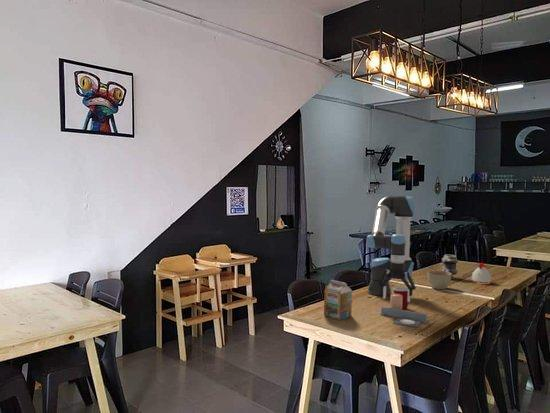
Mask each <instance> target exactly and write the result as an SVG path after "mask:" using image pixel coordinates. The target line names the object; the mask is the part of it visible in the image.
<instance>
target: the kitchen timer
mask: <svg viewBox="0 0 550 413" xmlns="http://www.w3.org/2000/svg"><path fill="white" fill-rule="evenodd" d="M485 266H486V265H485V264H484V262H480V263H479V264H478V267H477V268H475V270H474V271H472V273H471V277H470V278H471V279H470V282H471V281H474V282H480V283H488V282H492V274H490V272H489V270H488V269H487V268H486V267H485Z"/></svg>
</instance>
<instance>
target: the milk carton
mask: <svg viewBox="0 0 550 413" xmlns="http://www.w3.org/2000/svg"><path fill="white" fill-rule="evenodd" d="M323 296H324V299H323V300H324V301H323V316H324V315H325V316H324V317H327V316H329V317H328V318H330V317H332V318H331V319H334V318H335V319H334V320H337V319H338V320H337V321H341V319H342V320H344V319H348V318H350V317H352V308H353V306H352V305H353V290H352V289H351V288H350V287H349V286H348V284H347V282H344V281H338V280H335V279H334V280H333V279H330V282H329V283H328V284H327V285H326V287H325V289H324V295H323Z"/></svg>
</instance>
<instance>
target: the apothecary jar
mask: <svg viewBox="0 0 550 413" xmlns="http://www.w3.org/2000/svg"><path fill="white" fill-rule="evenodd" d="M441 262H442V268H441V269H440V271H445V272H449V273H451V274H452V275H451V280H456V279H455V278H456V277H454V276H456V275H457V273H458V269H457V263H459V260H458V258H457V256H456V254H455V255H454V254H444V255H443V257H442V258H441Z"/></svg>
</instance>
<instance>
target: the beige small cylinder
mask: <svg viewBox="0 0 550 413" xmlns="http://www.w3.org/2000/svg"><path fill="white" fill-rule="evenodd" d="M402 301H403V296H402V295H400V294H394V293H391V295H390V302H389V304H390V305H389V308H393V309H399V310H402Z"/></svg>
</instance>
